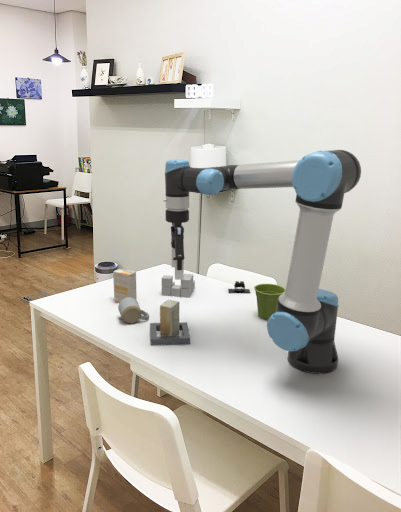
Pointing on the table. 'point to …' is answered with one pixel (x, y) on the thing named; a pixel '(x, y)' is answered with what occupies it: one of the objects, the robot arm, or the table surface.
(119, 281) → the supplement box
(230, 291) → the black bracket
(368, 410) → the table surface
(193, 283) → the puzzle cube
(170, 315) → the skincare box
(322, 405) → the table surface
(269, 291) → the plant pot
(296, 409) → the table surface
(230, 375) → the table surface
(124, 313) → the ceramic mug
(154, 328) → the grey frame stand
